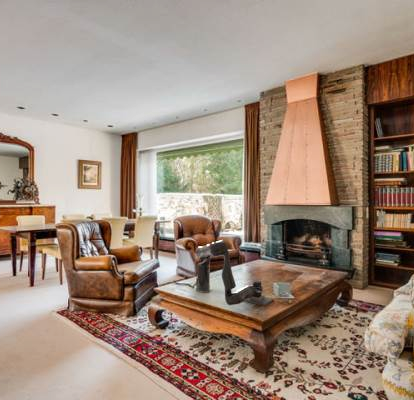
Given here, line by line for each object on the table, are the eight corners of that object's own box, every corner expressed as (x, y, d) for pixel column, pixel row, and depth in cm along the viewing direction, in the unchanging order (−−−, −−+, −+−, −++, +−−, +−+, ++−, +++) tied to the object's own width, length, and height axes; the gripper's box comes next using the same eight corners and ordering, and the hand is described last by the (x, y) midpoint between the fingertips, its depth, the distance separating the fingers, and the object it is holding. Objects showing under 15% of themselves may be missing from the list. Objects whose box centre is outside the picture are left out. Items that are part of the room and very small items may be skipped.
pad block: (253, 296, 212) (253, 282, 212) (256, 295, 216) (256, 280, 216) (257, 297, 210) (257, 283, 210) (261, 296, 214) (261, 281, 214)
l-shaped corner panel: (278, 298, 218) (278, 287, 218) (273, 292, 230) (273, 282, 230) (295, 298, 218) (295, 287, 218) (289, 292, 230) (289, 282, 230)
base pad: (240, 300, 213) (240, 295, 213) (250, 295, 224) (250, 290, 224) (264, 306, 202) (264, 301, 202) (273, 300, 213) (273, 295, 213)
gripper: (257, 288, 197) (268, 283, 211) (237, 284, 206) (249, 279, 219) (256, 300, 197) (268, 294, 211) (237, 296, 206) (249, 290, 219)
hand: (259, 287), depth 215 cm, fingers closed on pad block, 3 cm apart
